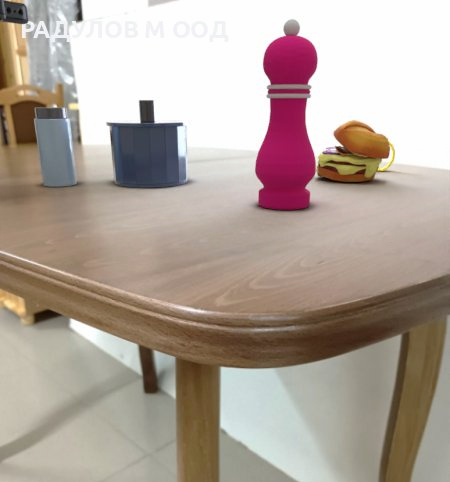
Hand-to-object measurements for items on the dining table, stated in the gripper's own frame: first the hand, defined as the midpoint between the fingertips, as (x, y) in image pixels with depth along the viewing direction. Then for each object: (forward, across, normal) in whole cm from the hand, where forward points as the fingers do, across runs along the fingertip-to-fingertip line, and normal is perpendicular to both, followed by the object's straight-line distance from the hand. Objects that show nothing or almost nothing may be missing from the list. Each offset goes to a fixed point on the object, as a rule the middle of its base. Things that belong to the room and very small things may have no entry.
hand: (6, 17), depth 63 cm
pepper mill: (+10, -36, +22) cm, 44 cm away
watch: (+48, -35, +22) cm, 64 cm away
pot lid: (+15, -10, +13) cm, 22 cm away
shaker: (+5, 0, +22) cm, 22 cm away
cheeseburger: (+35, -35, +22) cm, 54 cm away
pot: (+15, -10, +22) cm, 28 cm away
